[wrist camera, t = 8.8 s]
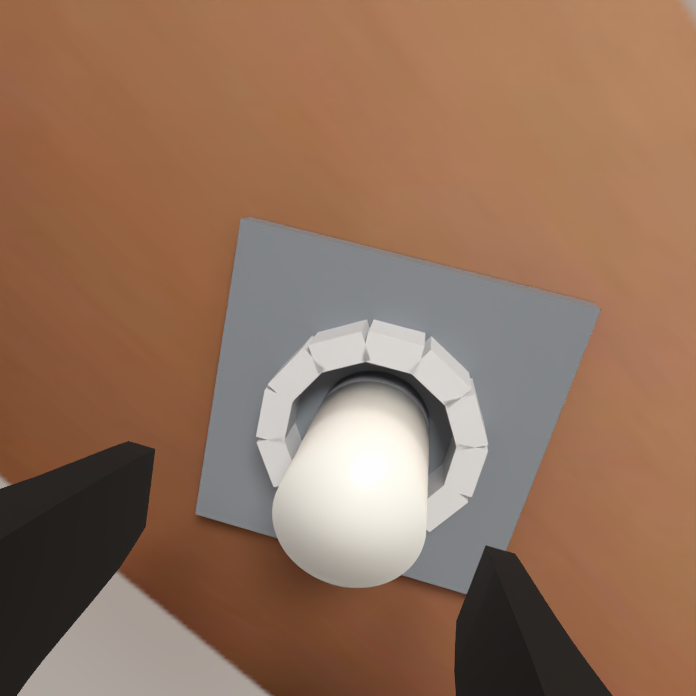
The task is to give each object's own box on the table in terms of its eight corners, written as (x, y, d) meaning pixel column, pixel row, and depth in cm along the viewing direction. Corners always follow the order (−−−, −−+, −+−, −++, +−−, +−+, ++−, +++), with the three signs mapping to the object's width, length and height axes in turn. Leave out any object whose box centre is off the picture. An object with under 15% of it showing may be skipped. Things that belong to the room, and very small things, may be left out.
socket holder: (205, 500, 23) (178, 537, 21) (250, 216, 19) (224, 222, 17) (484, 581, 22) (490, 630, 20) (592, 302, 18) (615, 321, 16)
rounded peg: (310, 455, 20) (260, 563, 15) (331, 358, 19) (286, 435, 13) (414, 484, 20) (404, 605, 14) (443, 387, 19) (444, 478, 13)
